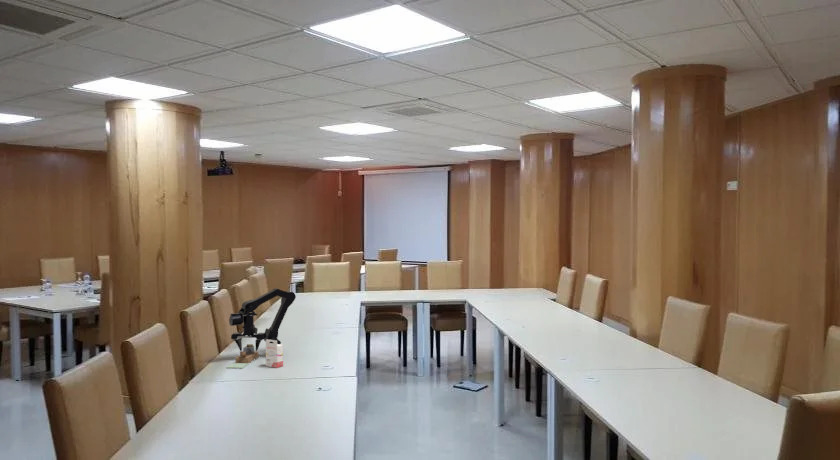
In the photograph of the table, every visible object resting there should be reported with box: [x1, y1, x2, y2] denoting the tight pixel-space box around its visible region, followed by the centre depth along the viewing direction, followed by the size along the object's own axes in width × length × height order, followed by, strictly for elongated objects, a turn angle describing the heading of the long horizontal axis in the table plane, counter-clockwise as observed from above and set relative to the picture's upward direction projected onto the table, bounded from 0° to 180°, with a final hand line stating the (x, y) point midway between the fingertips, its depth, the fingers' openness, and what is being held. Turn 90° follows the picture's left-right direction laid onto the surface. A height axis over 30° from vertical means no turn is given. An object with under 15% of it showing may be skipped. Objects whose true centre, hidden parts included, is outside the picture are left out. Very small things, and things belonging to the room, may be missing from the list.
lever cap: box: [242, 343, 255, 355], centre depth 326 cm, size 4×6×5 cm, turn 175°
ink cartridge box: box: [265, 339, 284, 369], centre depth 310 cm, size 9×5×15 cm, turn 62°
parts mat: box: [225, 362, 250, 370], centre depth 310 cm, size 9×9×1 cm
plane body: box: [235, 350, 260, 364], centre depth 324 cm, size 7×16×6 cm, turn 175°
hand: (248, 350), depth 326 cm, fingers open, 9 cm apart
